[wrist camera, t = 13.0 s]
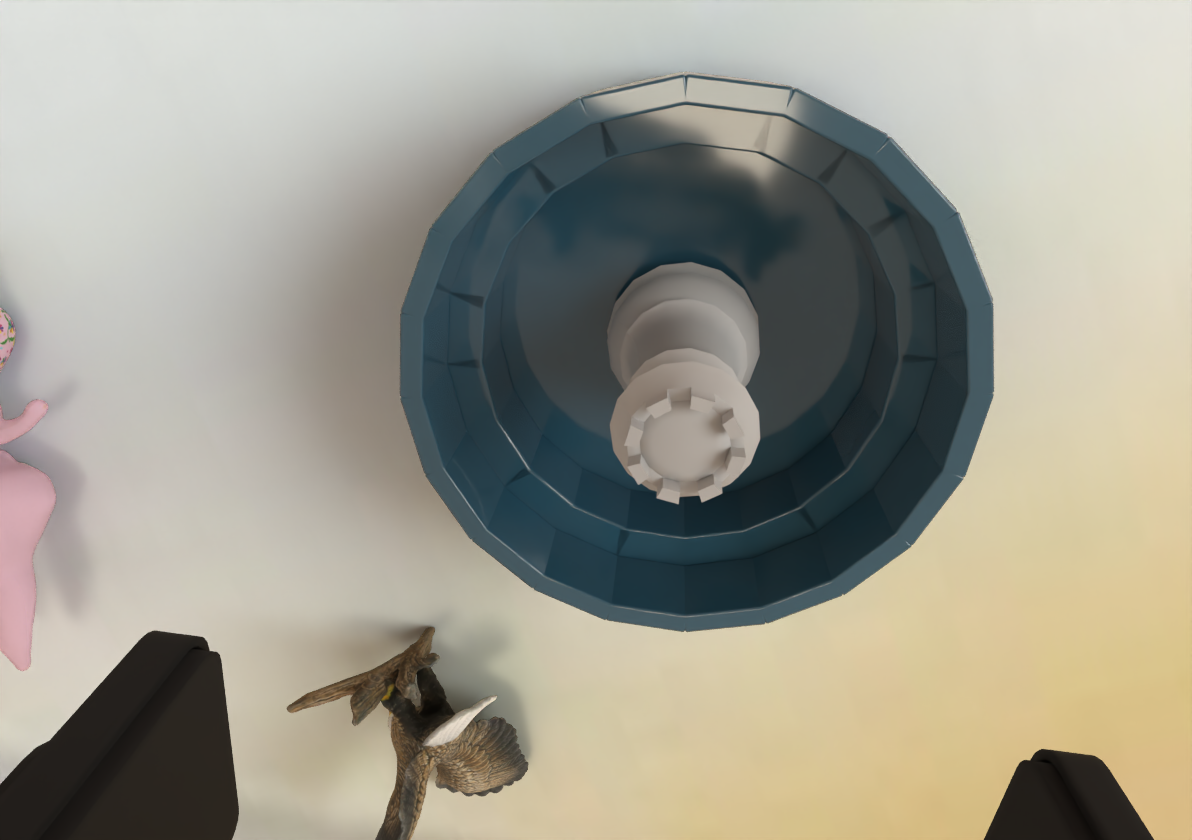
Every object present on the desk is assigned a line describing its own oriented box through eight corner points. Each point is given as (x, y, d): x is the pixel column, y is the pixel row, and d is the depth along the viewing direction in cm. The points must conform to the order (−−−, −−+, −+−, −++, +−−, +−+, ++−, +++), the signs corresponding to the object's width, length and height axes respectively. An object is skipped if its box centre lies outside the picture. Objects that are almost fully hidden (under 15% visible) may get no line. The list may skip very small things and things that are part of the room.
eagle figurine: (278, 657, 30) (340, 859, 32) (292, 750, 23) (369, 996, 25) (470, 588, 33) (516, 776, 35) (530, 653, 26) (583, 881, 28)
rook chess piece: (583, 361, 24) (543, 488, 17) (651, 230, 22) (638, 311, 15) (711, 424, 25) (725, 574, 18) (787, 301, 23) (838, 411, 16)
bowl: (448, 493, 27) (397, 589, 22) (465, 44, 21) (401, 38, 16) (858, 554, 27) (899, 665, 22) (991, 109, 21) (1090, 123, 16)
